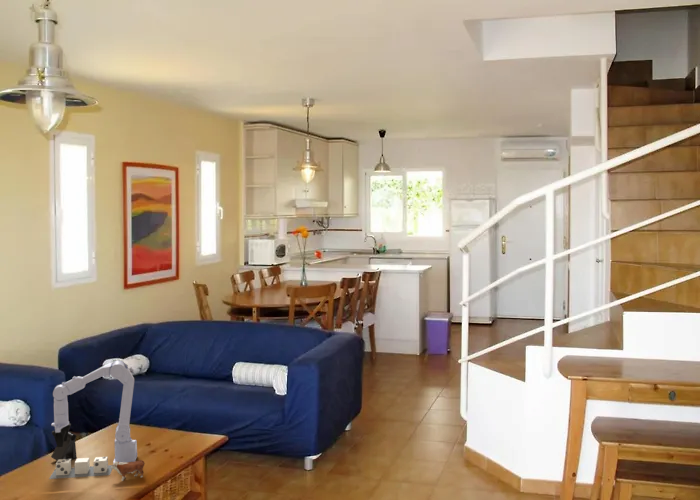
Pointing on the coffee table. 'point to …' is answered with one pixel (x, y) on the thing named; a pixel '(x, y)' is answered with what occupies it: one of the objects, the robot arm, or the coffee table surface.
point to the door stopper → (66, 449)
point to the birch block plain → (82, 466)
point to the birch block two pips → (100, 464)
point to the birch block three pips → (63, 467)
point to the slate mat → (72, 474)
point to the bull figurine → (129, 468)
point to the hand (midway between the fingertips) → (62, 444)
